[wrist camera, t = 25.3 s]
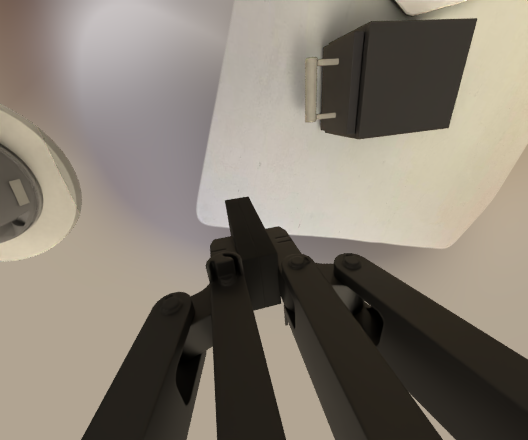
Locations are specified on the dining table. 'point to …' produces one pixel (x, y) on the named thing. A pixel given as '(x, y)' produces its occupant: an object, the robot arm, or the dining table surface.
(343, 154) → the dining table surface
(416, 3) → the plate
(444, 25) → the dark grey box
